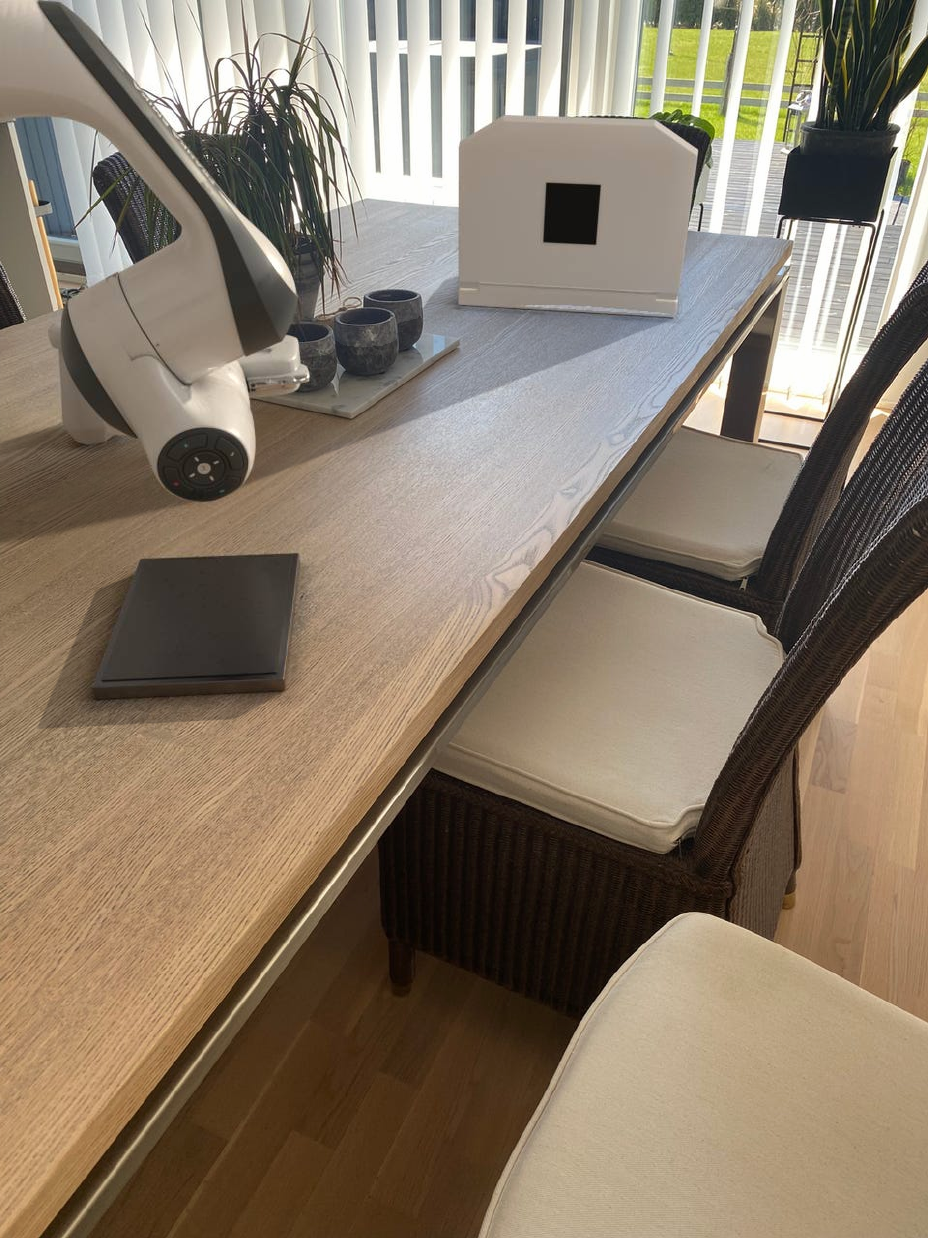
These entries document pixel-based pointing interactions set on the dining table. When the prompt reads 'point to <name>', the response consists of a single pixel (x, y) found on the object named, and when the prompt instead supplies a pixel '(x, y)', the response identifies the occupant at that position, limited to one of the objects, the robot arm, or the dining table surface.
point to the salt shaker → (76, 403)
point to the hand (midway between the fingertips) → (194, 343)
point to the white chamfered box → (574, 214)
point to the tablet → (202, 627)
